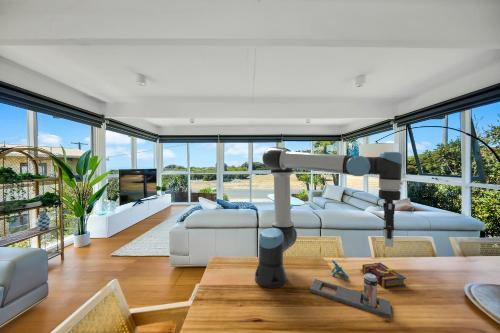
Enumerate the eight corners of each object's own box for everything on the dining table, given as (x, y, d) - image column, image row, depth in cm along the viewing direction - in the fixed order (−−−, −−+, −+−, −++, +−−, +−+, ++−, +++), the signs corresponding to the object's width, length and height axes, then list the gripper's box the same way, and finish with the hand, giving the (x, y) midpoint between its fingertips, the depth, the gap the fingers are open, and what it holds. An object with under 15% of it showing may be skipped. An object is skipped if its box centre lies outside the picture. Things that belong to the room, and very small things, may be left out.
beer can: (360, 301, 88) (361, 272, 88) (371, 300, 89) (372, 272, 88) (367, 309, 84) (368, 279, 83) (379, 308, 84) (380, 278, 84)
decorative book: (385, 289, 97) (385, 278, 97) (360, 271, 113) (360, 262, 113) (405, 286, 99) (406, 276, 99) (378, 269, 115) (378, 260, 115)
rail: (309, 291, 94) (309, 288, 94) (315, 281, 102) (315, 278, 102) (390, 318, 79) (391, 314, 79) (389, 304, 86) (390, 301, 86)
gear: (352, 279, 101) (336, 262, 103) (343, 288, 102) (327, 271, 103) (345, 271, 112) (331, 256, 114) (337, 278, 113) (323, 263, 114)
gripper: (404, 194, 75) (402, 254, 75) (397, 187, 96) (396, 233, 97) (379, 192, 79) (377, 249, 79) (378, 186, 100) (377, 230, 101)
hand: (387, 240), depth 88 cm, fingers open, 13 cm apart
